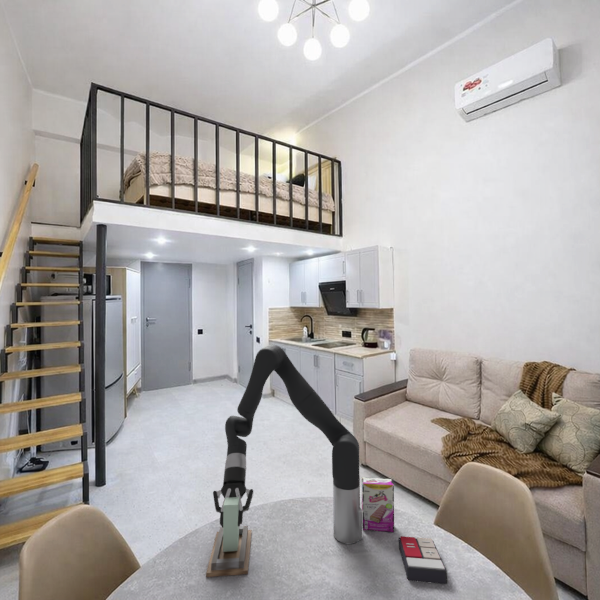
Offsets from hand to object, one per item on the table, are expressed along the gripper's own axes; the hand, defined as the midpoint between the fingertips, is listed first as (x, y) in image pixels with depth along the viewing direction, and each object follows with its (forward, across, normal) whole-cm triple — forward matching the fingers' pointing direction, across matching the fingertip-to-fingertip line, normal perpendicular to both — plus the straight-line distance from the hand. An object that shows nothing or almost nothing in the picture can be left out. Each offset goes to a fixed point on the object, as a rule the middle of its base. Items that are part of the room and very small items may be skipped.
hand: (230, 525), depth 104 cm
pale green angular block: (+4, 0, +6) cm, 7 cm away
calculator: (+13, +59, +1) cm, 60 cm away
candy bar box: (0, +51, +13) cm, 53 cm away
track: (+5, 0, +7) cm, 9 cm away
